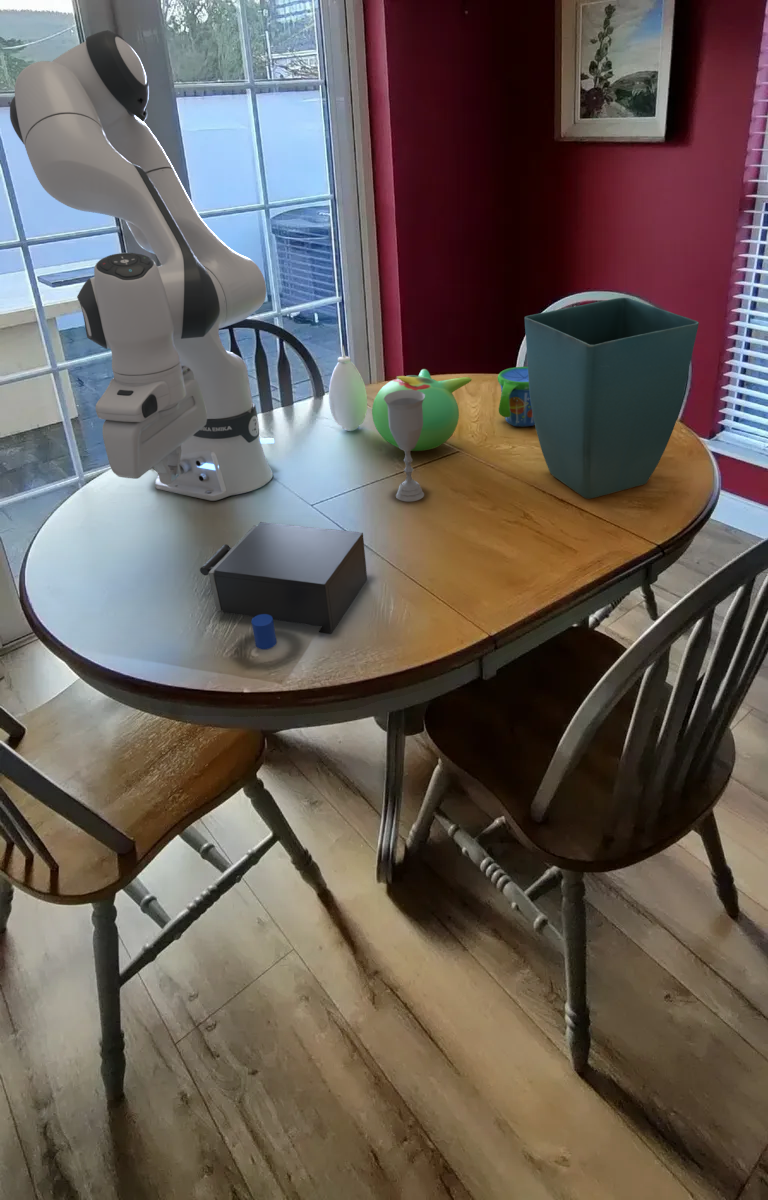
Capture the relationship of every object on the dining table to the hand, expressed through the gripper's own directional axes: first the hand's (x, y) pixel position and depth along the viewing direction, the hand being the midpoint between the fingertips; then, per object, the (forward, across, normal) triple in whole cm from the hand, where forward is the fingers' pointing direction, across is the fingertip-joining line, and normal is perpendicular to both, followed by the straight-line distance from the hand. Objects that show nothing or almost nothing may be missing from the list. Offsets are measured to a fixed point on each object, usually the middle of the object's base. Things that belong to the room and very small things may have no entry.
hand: (170, 479), depth 118 cm
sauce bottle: (+18, -62, +3) cm, 65 cm away
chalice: (+17, -34, +25) cm, 46 cm away
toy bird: (+17, -56, +20) cm, 62 cm away
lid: (+16, +14, +20) cm, 29 cm away
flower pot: (+16, -46, +56) cm, 74 cm away
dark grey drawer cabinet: (+16, +2, +18) cm, 25 cm away
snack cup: (+17, -72, +38) cm, 84 cm away
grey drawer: (+16, +2, +15) cm, 22 cm away
